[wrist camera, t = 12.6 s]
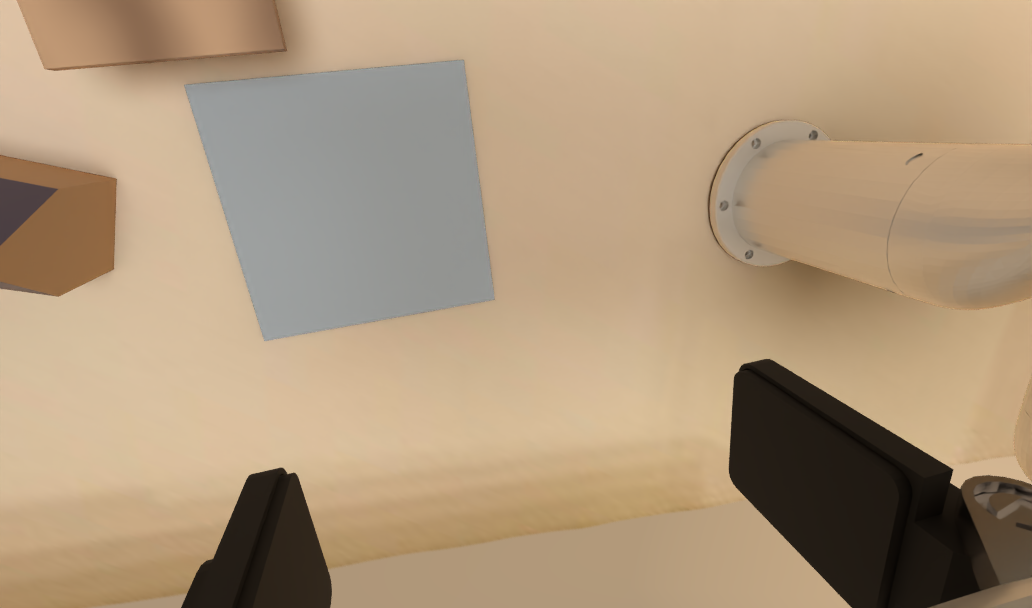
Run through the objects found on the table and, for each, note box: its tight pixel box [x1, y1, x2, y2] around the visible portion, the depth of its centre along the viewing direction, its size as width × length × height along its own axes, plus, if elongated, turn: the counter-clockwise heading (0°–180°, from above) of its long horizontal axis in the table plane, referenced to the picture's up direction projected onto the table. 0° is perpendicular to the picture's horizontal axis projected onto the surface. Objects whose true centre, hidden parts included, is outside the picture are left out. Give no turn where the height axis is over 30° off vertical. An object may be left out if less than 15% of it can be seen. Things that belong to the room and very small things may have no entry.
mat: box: [184, 60, 495, 341], centre depth 36 cm, size 18×18×1 cm
